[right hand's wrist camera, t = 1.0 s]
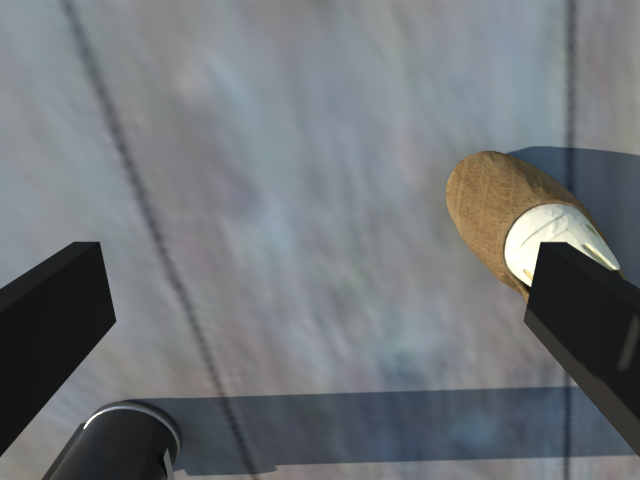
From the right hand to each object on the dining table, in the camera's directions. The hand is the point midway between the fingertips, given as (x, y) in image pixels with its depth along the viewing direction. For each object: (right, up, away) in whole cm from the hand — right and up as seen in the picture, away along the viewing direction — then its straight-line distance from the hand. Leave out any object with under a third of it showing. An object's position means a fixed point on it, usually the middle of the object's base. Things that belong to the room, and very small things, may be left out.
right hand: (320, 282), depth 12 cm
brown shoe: (+19, -1, +21) cm, 28 cm away
